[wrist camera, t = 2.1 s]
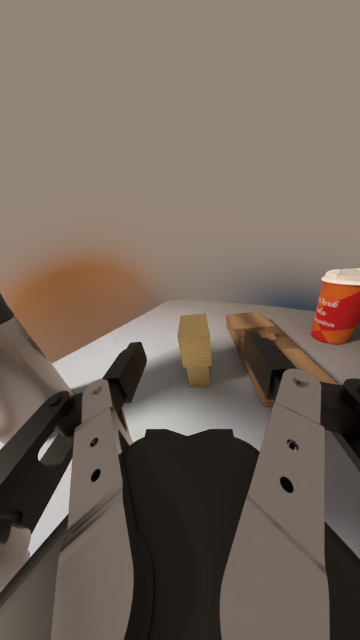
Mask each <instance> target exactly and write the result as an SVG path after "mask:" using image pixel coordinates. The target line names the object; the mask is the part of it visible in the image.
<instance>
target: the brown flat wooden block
mask: <svg viewBox="0 0 360 640" xmlns="http://www.w3.org/2000/svg"><path fill="white" fill-rule="evenodd" d="M226 325H227V328H228V330H229V332H230V334H231V337H232V339H233V341H234V343H235V345H236V348H237V350H238V352H239V354H240V356H241V359H242V361H243V363H244V365H245V367H246V370H247V372H248V374H249V376H250V379H251V381H252V383H253V385H254V387H255V390H256V392H257V394H258V396H259V398H260V401H261V403H262V405H263V407H266V406H273V405H274V402H275V401H274V399H271V400H267V399H266V397H265V395H264V393H263V391H262V389H261V387H260V385H259V383H258V381H257V379H256V377H255V375H254V373H253V371H252V369H251V368H250V366H249V364H248V362H247V360H246V357H245V354H244V338H245V333H246V332H255V331H257V332H258V333H259V334H260V335H261V337H262V338H268V339H269V340H271V341H273V342H274V343H275V344H276V345H277V346H278V348H279V349H280V350H281V351H282V352H283V353H284V354H285V355H286V356H287V358H288V359H289V360H290V361H291V362H292V363H293V364H294V365H295V367H296V368H297V369H299V370H303V371H306V372H308V373H310V374H311V375H313V376H314V377H316V378H317V379H318V381H321V382H325V383H331V384H337V383H336V382H335V381H334V380H333V379H332V378H330V377H329V376H328V375H327V374H326V373H325V372H324V371H323V370H322V369H321V368H320V367H319V366H318V365H316V364H315V363H314V362H313V361H312V360H311V359H310V358H309V357H308V356H307V355H306V354H305V353H304V352H303V351H301V350H300V349H299V348H298V347H297V346H296V345H295V344H294V343H293V342H292V341H291V340H290V339H289V338H288V337H286V336H285V335H284V334H283V333H282V332H281V331H280V330H279V329H278V328H277V327H276V326H275V325H274V324H273V323H271V322H270V321H269V320H268V319H267V318H266V317H265V316H264V315H263V314H262V313H261V312H250V313H240V314H230V315H226ZM337 385H338V384H337Z"/></svg>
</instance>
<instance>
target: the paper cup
mask: <svg viewBox="0 0 360 640" xmlns="http://www.w3.org/2000/svg"><path fill="white" fill-rule="evenodd" d="M322 281H323V284H322V288H321V292H320V296H319V301H318V305H317V309H316V314H315V318H314V323H313V327H312V333H311V334H312V336H313V337H314V338H315V339H317V340H319V341H322V342H325V343H329V344H344V343H346V342H347V340H348V339H349V337H350V336H351V334H352V333H353V331H354V329H355V328H356V326H357V324H358V323H359V321H360V268H355V269H342V270H339V269H336V270H330V271H328V272H327V273H326V274H325V276H324V277H323V278H322Z"/></svg>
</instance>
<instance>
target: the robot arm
mask: <svg viewBox="0 0 360 640" xmlns="http://www.w3.org/2000/svg"><path fill="white" fill-rule="evenodd" d="M244 354H245V357H246V360H247V362H248V364H249V366H250V368H251V369H252V371H253V373H254V375H255V377H256V379H257V381H258V383H259V385H260V387H261V389H262V391H263V393H264V395H265V397H266V399H267V400H271V399H274V401H275V402H274V405H273V409H272V412H271V416H270V419H269V423H268V426H267V430H266V433H265V436H264V440H263V443H262V447H261V450H260V452H259V451H258V450H257V449H256V448H254V447H253V446H252V445H250V444H249V443H247V442H245V441H243V440H241V439H239V438H236V437H234V435H233V431H232V429H209V430H206V431H203V432H199V433H196V434H193V435H190V436H185V435H182V434H179V433H176V432H173V431H170V430H167V429H146V433H145V437H143V438H141V439H139V440H137V441H135V442H134V443H133V442H132V439H131V437H130V433H129V430H128V426H127V422H126V418H125V415H124V411H123V408H122V406H123V404H124V403H131V401H132V398H133V396H134V393H135V391H136V388H137V386H138V383H139V381H140V378H141V376H142V373H143V371H144V368H145V366H146V362H147V358H146V355H145V352H144V349H143V346H142V343H141V342H134V343H130V344H129V346H128V347H127V349H125V350H124V351H122V352H121V353H120V354H119V355H118V357H117V358H116V360H115V361H114V363H113V364H112V365H111V367H110V368H109V370H108V371H107V373H106V374H105V375H104V377H103V378H102V379H101V380H97V381H95V382H93V383H92V384H90V385H89V386H88V387H87V388H86V389H85V391H84V392H82V393H79V394H76V395H74V393H73V392H72V391H71V389H70V388H69V387H68V385H67V384H66V383H65V381H64V380H63V378H62V377H61V376H60V374H59V373H58V372H57V370H56V369H55V368H54V367H53V365H52V364H51V363H50V361H49V360H48V359H47V357H46V356H45V355H44V353H43V352H42V351H41V349H40V348H39V347H38V345H37V344H36V343H35V341H34V340H33V339H32V337H31V336H30V335H29V334H28V332H27V331H26V330H25V328H24V327H23V326H22V324H21V323H20V322H19V320H18V319H17V318H16V317H15V316H14V314H13V312H12V311H11V310H10V309H9V307H8V306H7V304H6V302H5V301H4V299H3V297H2V295H1V294H0V441H1V442H2V443H4V444H5V445H4V446H3V448H2V449H1V450H0V640H360V559H359V558H358V557H357V556H356V554H355V553H354V552H353V551H352V550H351V549H350V548H349V547H348V546H347V545H346V544H345V543H344V542H343V540H342V539H341V538H340V537H339V536H338V535H337V534H336V533H335V532H334V531H333V530H332V529H331V528H330V526H329V525H328V524H327V523H326V522H325V521H324V510H325V430H329V431H331V432H332V433H333V435H334V436H335V438H336V439H337V441H338V442H339V443H340V445H341V446H342V448H343V449H344V450H345V452H346V453H347V455H348V456H349V457H350V459H351V460H352V462H353V463H354V464H355V466H356V467H357V469H358V470H359V472H360V379H347V380H345V382H344V384H343V386H342V385H337V384H331V383H325V382H321V381H318V379H317V378H316V377H314V376H313V375H311V374H310V373H308V372H306V371H303V370H299V369H297V368H296V367H295V365H294V364H293V363H292V362H291V361H290V360H289V359H288V358H287V356H286V355H285V354H284V353H283V352H282V351H281V350H280V349H279V348H278V346H277V345H276V344H275V343H274V342H273V341H271V340H269V339H268V338H262V337H261V335H260V334H259V333H258V332H257V331H255V332H246V333H245V338H244ZM54 429H56V430H57V431H58V432H59V434H58V435H57V436H56V438H55V439H54V441H53V442H52V444H51V445H50V447H49V448H48V450H47V451H46V453H45V454H44V456H43V457H42V458H41V460H40V461H39V460H38V453H39V450H40V449H41V447H42V446H43V444H44V443H45V441H46V440H47V439H48V437H49V436H50V434H51V433H52V432H53V430H54ZM72 457H73V459H72ZM71 459H72V473H71V487H70V501H69V514H68V515H67V516H66V517H65V518H64V519H63V521H62V522H61V523H60V524H59V525H58V526H57V527H56V529H55V530H54V531H53V532H52V533H51V534H50V536H49V537H48V538H47V539H46V540H45V541H44V542H43V544H42V545H41V546H40V547H39V548H38V549H37V550H36V552H35V553H34V554H33V555H32V556H31V557H30V552H29V551H28V547H29V543H30V538H31V534H32V532H33V530H34V528H35V527H36V525H37V523H38V521H39V519H40V517H41V515H42V514H43V512H44V510H45V508H46V506H47V504H48V502H49V500H50V499H51V497H52V495H53V493H54V491H55V489H56V487H57V485H58V484H59V482H60V480H61V478H62V476H63V474H64V472H65V470H66V469H67V467H68V465H69V463H70V461H71ZM29 557H30V558H29Z"/></svg>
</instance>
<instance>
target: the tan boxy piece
mask: <svg viewBox="0 0 360 640" xmlns="http://www.w3.org/2000/svg"><path fill="white" fill-rule="evenodd" d="M178 343H179V348H180V353H181V359H182V364H183V367H186V368H187V373H188V379H189V385H190V387H197V386H210V378H209V366H212V360H211V344H210V332H209V328H208V323H207V318H206V314H205V313H204V314H194V315H185V316H181V317H180V324H179V330H178Z"/></svg>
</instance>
